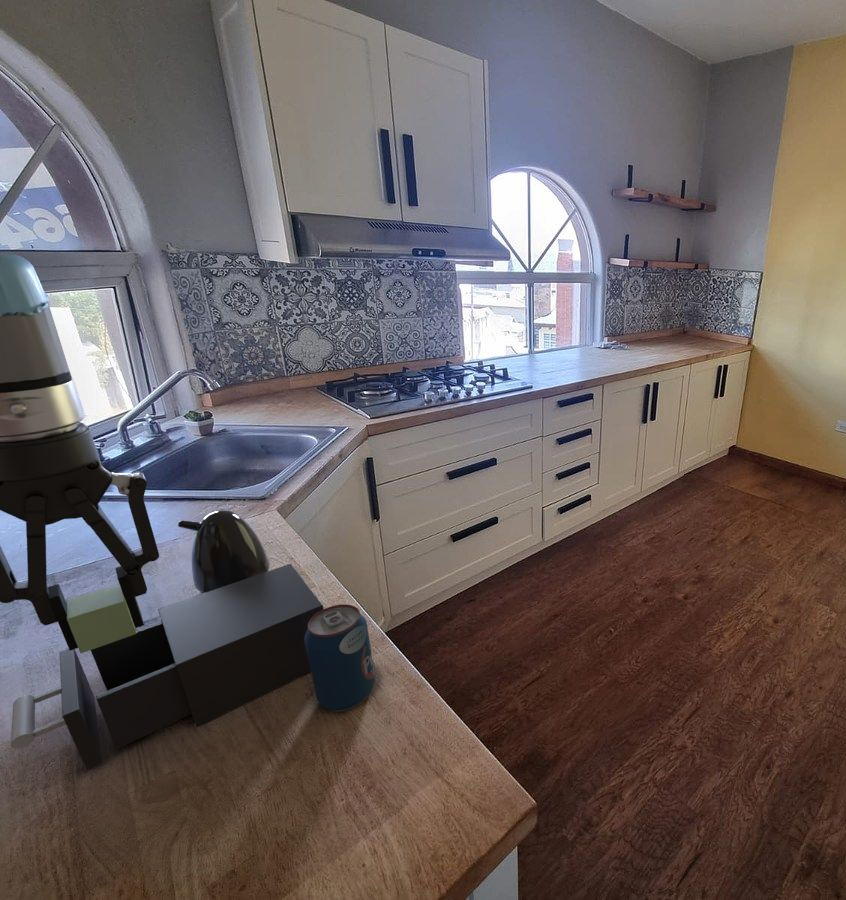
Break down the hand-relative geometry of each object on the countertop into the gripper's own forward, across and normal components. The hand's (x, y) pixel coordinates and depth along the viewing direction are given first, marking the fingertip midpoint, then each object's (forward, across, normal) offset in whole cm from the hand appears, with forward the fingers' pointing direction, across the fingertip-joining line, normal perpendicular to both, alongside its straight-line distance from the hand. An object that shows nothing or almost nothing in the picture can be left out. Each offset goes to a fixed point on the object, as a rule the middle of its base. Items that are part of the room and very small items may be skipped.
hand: (107, 630), depth 55 cm
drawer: (+13, 0, +2) cm, 14 cm away
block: (0, 0, 0) cm, 0 cm away
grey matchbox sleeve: (+14, +12, +2) cm, 19 cm away
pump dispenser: (+15, +14, +22) cm, 30 cm away
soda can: (+14, +19, -12) cm, 27 cm away
